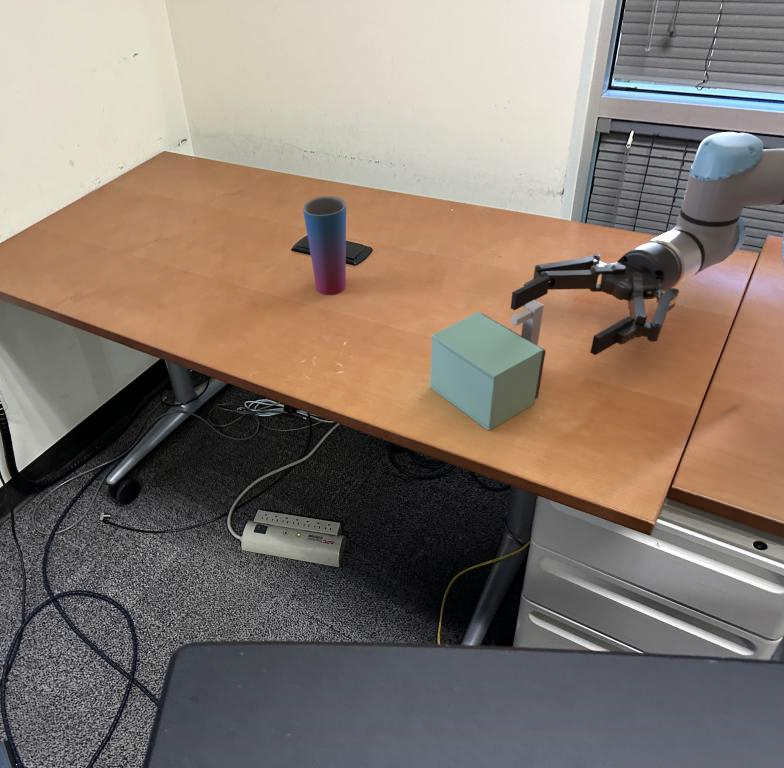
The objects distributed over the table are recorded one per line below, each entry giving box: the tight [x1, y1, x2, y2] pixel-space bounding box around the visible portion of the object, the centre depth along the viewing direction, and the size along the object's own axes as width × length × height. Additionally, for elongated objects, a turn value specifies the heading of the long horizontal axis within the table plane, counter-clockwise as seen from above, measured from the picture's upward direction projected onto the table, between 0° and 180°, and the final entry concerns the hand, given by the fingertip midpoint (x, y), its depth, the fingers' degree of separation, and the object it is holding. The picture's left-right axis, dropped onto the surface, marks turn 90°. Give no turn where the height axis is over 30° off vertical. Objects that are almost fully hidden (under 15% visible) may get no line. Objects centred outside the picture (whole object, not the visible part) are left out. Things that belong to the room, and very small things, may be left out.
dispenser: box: [429, 311, 543, 431], centre depth 89 cm, size 8×11×9 cm
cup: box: [302, 195, 347, 296], centre depth 112 cm, size 7×7×15 cm
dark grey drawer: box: [480, 299, 547, 400], centre depth 89 cm, size 12×11×10 cm
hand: (551, 322), depth 92 cm, fingers open, 13 cm apart
